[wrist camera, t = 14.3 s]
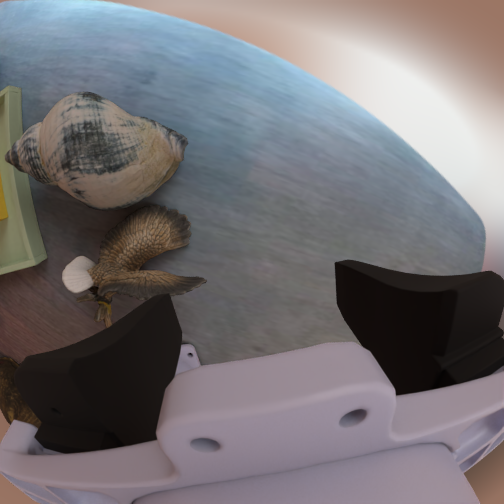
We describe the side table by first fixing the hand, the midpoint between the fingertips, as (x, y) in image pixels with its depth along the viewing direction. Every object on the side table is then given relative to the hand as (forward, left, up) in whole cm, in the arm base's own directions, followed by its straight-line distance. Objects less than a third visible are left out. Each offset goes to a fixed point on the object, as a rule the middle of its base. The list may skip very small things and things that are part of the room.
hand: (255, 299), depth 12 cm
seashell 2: (+9, +9, -10) cm, 16 cm away
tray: (+10, +23, -9) cm, 27 cm away
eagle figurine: (0, +8, -10) cm, 12 cm away
